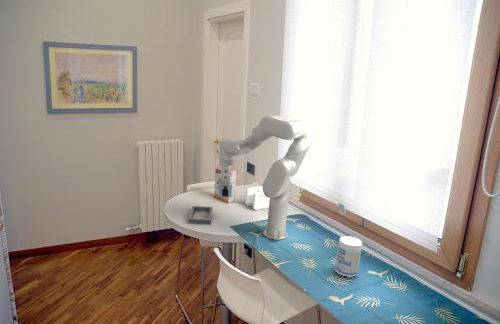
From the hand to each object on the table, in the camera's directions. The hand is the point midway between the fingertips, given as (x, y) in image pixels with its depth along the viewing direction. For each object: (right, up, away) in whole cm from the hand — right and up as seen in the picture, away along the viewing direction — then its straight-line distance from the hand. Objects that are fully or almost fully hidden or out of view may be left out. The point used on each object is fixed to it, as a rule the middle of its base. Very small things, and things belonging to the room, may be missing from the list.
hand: (225, 194), depth 204 cm
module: (0, -1, 0) cm, 1 cm away
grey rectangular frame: (-14, -13, +2) cm, 19 cm away
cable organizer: (+20, -10, +25) cm, 33 cm away
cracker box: (-3, -7, +33) cm, 34 cm away
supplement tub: (+55, -30, -46) cm, 77 cm away
